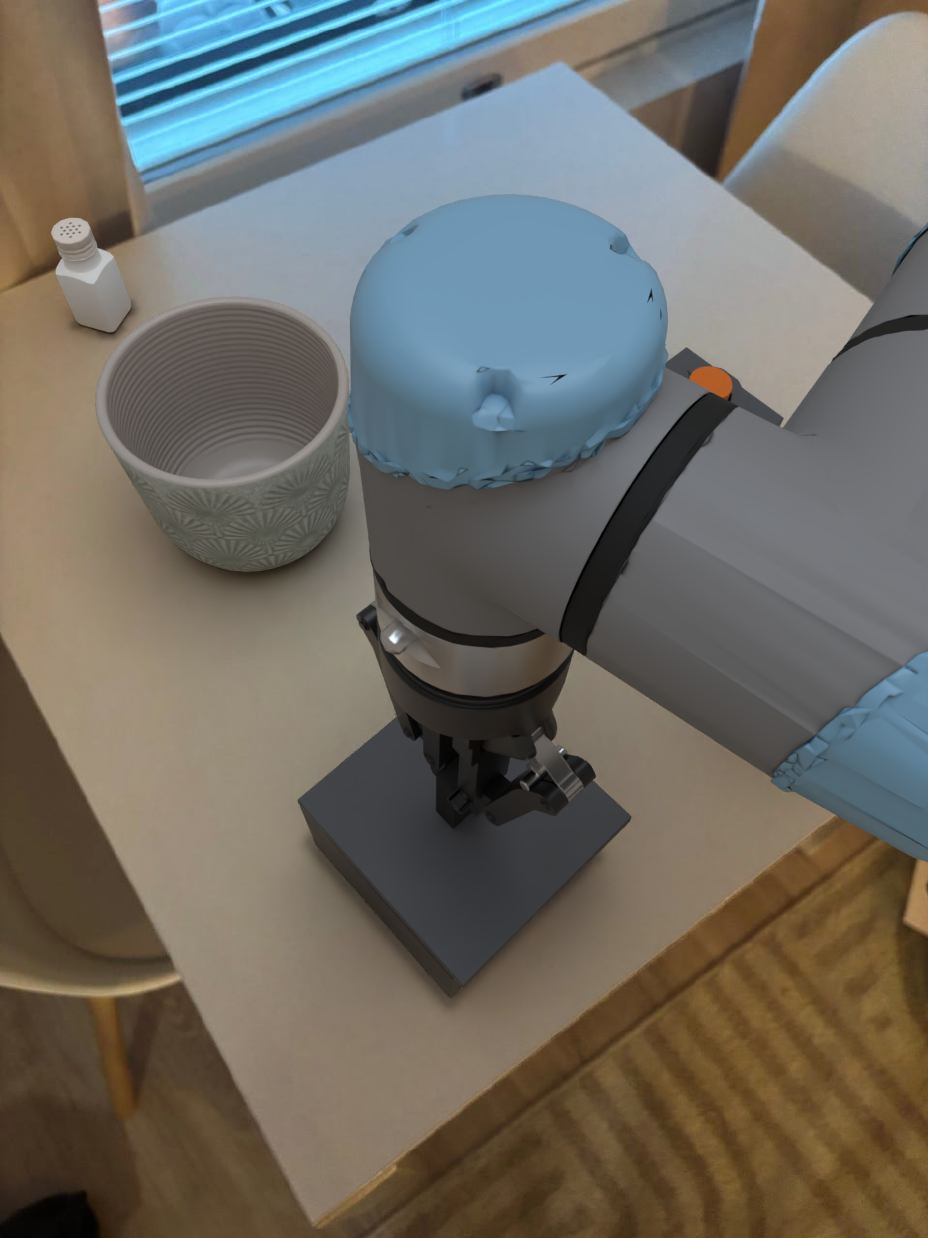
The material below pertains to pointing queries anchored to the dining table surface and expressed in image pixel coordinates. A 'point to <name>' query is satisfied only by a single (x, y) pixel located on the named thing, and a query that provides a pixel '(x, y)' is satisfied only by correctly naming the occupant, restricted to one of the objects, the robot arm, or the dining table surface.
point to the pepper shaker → (89, 277)
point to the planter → (232, 428)
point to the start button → (713, 380)
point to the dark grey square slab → (453, 849)
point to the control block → (739, 396)
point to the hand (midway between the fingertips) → (461, 804)
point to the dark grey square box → (384, 911)
